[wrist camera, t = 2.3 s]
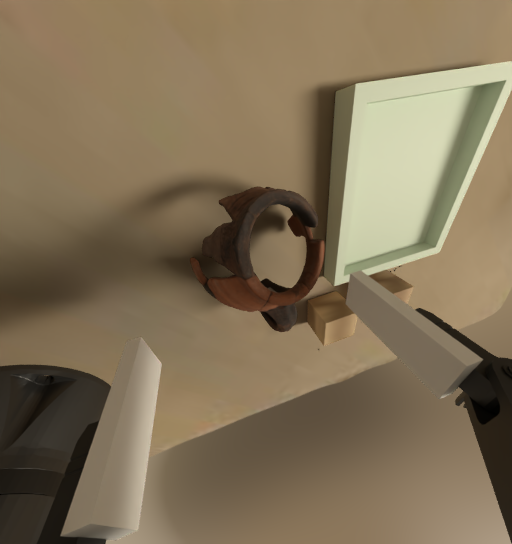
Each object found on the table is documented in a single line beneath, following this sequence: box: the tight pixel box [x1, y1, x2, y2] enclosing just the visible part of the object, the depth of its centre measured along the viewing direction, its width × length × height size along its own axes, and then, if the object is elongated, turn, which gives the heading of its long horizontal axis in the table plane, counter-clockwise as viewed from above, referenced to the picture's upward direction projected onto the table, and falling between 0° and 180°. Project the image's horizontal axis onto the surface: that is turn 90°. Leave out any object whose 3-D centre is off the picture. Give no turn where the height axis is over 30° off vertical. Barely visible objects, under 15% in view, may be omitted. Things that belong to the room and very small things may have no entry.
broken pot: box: [190, 187, 325, 332], centre depth 16 cm, size 12×9×8 cm
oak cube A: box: [307, 291, 358, 346], centre depth 24 cm, size 4×4×4 cm
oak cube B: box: [368, 270, 414, 304], centre depth 24 cm, size 4×4×4 cm
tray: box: [324, 61, 512, 286], centre depth 18 cm, size 14×16×2 cm
